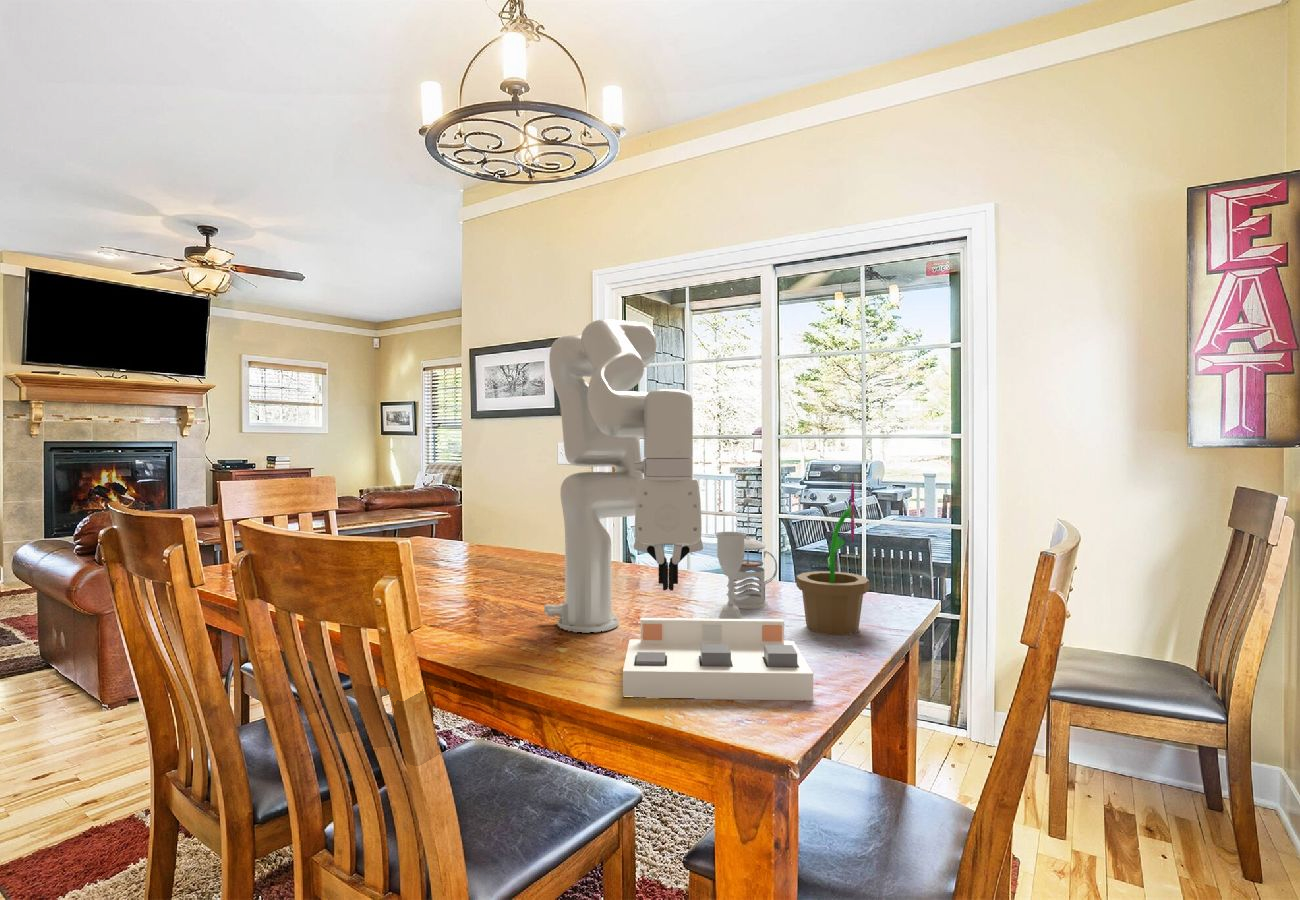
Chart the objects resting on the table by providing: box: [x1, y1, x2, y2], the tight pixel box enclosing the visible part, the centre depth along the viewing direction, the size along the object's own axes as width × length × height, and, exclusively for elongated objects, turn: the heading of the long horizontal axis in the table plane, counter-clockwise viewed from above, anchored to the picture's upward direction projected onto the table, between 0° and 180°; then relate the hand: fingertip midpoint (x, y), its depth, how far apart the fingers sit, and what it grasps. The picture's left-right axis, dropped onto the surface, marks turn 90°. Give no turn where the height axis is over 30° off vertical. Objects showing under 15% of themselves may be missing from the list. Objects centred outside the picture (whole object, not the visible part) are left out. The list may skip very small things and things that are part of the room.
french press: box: [726, 496, 778, 610], centre depth 157 cm, size 10×12×25 cm
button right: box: [764, 645, 797, 668], centre depth 103 cm, size 4×4×3 cm
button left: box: [636, 652, 665, 666], centre depth 104 cm, size 4×4×3 cm
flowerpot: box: [795, 481, 870, 636], centre depth 137 cm, size 14×14×30 cm
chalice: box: [714, 531, 748, 619], centre depth 145 cm, size 7×7×18 cm
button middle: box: [701, 644, 731, 667], centre depth 104 cm, size 4×4×3 cm
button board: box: [622, 617, 814, 702], centre depth 107 cm, size 28×16×8 cm, turn 88°
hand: (668, 588), depth 104 cm, fingers closed
